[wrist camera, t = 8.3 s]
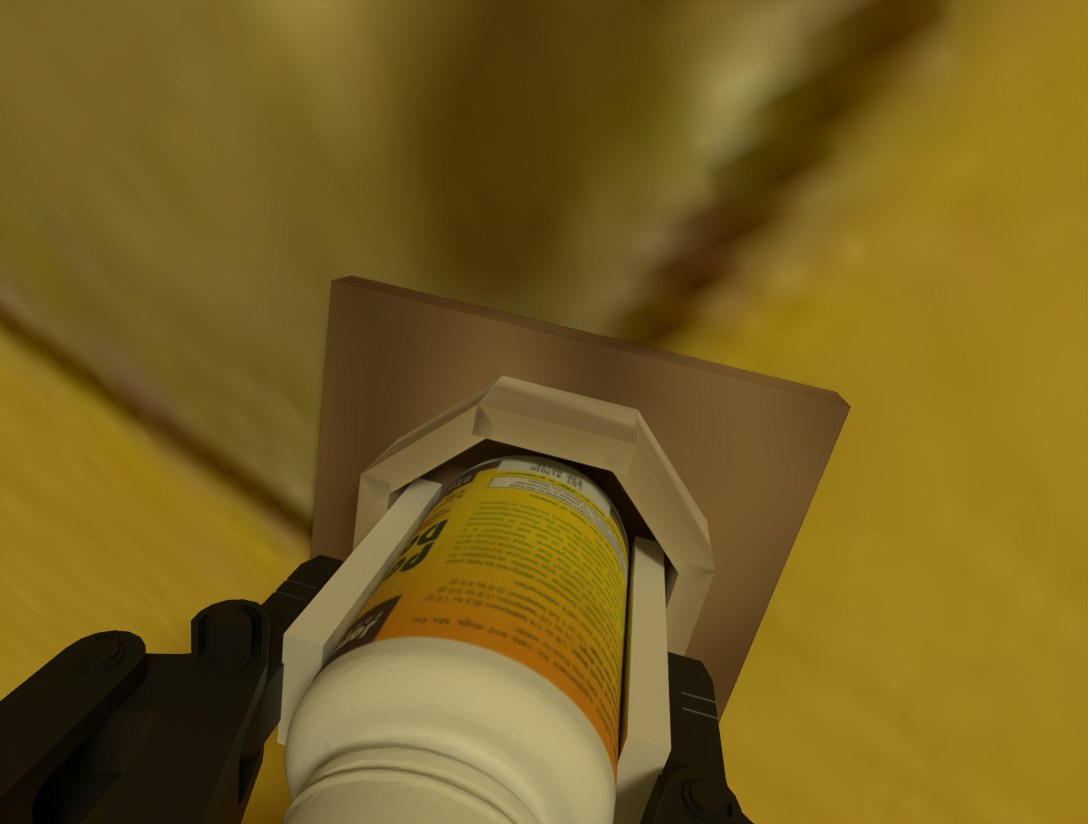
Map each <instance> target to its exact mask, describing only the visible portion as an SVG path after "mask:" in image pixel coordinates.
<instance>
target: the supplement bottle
mask: <svg viewBox="0 0 1088 824" xmlns="http://www.w3.org/2000/svg"><path fill="white" fill-rule="evenodd" d="M628 569H629V549H628V541H627V536H626V531H625V528H624V526H623V523H622V520H621V517H620V515H619V513H618V511H617V509H616V508H615V506H614V504H613V503H612V501H611V500H610V499H609V497H608V496H607V495H606V494H605V493H604V491H603V490H602V489H601V488H600V487H599V486H598V485H597V484H595V483H594V482H593V481H592V480H591V479H589V478H588V477H587V476H585V475H584V474H582V473H581V472H579V471H577V470H576V469H574V468H572V467H570V466H568V465H565V464H563V463H560V462H558V461H555V460H552V459H548V458H543V457H537V456H528V455H513V456H504V457H498V458H494V459H491V460H488V461H485V462H482V463H480V464H478V465H476V466H474V467H472V468H470V469H469V470H467V471H466V472H464V473H463V474H462V475H460V476H459V477H458V478H457V479H456V480H455V481H454V482H453V483H452V484H451V485H450V486H449V487H448V488H447V489H446V491H445V492H444V493H443V494H442V496H441V497H440V498H439V500H438V501H437V503H436V504H435V505H434V507H433V508H432V509H431V511H430V513H429V514H428V515H427V517H426V518H425V520H424V521H423V523H422V524H421V526H420V527H419V528H418V530H417V531H416V533H415V534H414V536H413V537H412V538H411V540H410V541H409V542H408V544H407V546H406V547H405V549H404V550H403V552H402V553H401V554H400V556H399V557H398V559H397V560H396V562H395V563H394V565H393V566H392V567H391V569H390V570H389V572H388V573H387V575H386V576H385V577H384V579H383V580H382V582H381V583H380V585H379V586H378V588H377V589H376V591H375V592H374V593H373V595H372V596H371V598H370V599H369V600H368V602H367V603H366V605H365V606H364V607H363V609H362V611H361V612H360V614H359V615H358V617H357V618H356V619H355V621H354V622H353V624H352V625H351V627H350V628H349V629H348V631H347V632H346V634H345V635H344V636H343V638H342V639H341V641H340V642H339V644H338V645H337V647H336V648H335V650H334V651H333V653H332V654H331V656H330V657H329V658H328V660H327V661H326V662H325V664H324V665H323V667H322V668H321V669H320V671H319V672H318V673H317V675H316V677H315V678H314V680H313V681H312V683H311V685H310V686H309V688H308V689H307V691H306V693H305V694H304V696H303V697H302V699H301V701H300V702H299V704H298V706H297V708H296V710H295V712H294V714H293V717H292V720H291V723H290V726H289V729H288V734H287V739H286V747H285V771H286V778H287V783H288V787H289V791H290V794H291V797H292V800H293V802H292V804H291V805H290V807H289V808H288V810H287V811H286V813H285V815H284V817H283V820H282V823H281V824H613V818H614V809H615V800H616V785H617V766H618V747H619V727H620V708H621V689H622V671H623V654H624V636H625V621H626V606H627V586H628Z"/></svg>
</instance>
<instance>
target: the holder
mask: <svg viewBox="0 0 1088 824" xmlns="http://www.w3.org/2000/svg"><path fill="white" fill-rule="evenodd" d="M850 407H851V406H850V405H849V404H848V403H847V402H846V401H845V400H844V399H843V398H842V397H841V396H840V395H839V394H838V393H837V392H833V391H828V390H824V389H820V388H816V387H812V386H808V385H804V384H799V383H795V382H791V381H787V380H783V379H779V378H774V377H770V376H766V375H762V374H758V373H754V372H750V371H745V370H741V369H737V368H733V367H729V366H725V365H721V364H716V363H712V362H708V361H704V360H700V359H696V358H692V357H687V356H683V355H679V354H675V353H671V352H667V351H663V350H658V349H654V348H650V347H646V346H642V345H638V344H634V343H629V342H625V341H621V340H617V339H613V338H609V337H605V336H600V335H596V334H592V333H588V332H584V331H580V330H575V329H571V328H567V327H563V326H559V325H555V324H551V323H546V322H542V321H538V320H534V319H530V318H526V317H522V316H517V315H513V314H509V313H505V312H501V311H497V310H493V309H488V308H484V307H480V306H476V305H472V304H468V303H464V302H459V301H455V300H451V299H447V298H443V297H439V296H435V295H430V294H426V293H422V292H418V291H414V290H410V289H405V288H401V287H397V286H393V285H389V284H385V283H381V282H376V281H372V280H368V279H364V278H360V277H356V276H348V277H344V278H340V279H336V280H332V282H331V295H330V308H329V321H328V334H327V347H326V360H325V373H324V386H323V400H322V413H321V426H320V439H319V452H318V465H317V478H316V491H315V504H314V518H313V531H312V544H311V557H310V560H311V559H313V558H315V557H317V556H319V555H324V556H328V557H331V558H335V559H338V560H342V561H346V560H347V559H348V557H349V556H350V555H351V554H352V553H353V551H354V550H355V549H356V548H357V547H358V546H359V544H360V543H361V542H362V541H363V540H364V538H365V537H366V536H367V535H368V534H369V533H370V531H371V530H372V529H373V528H374V527H375V526H376V524H377V523H378V522H379V521H380V520H381V518H382V517H383V516H384V515H385V514H386V513H387V511H388V510H389V509H390V508H391V507H392V505H393V504H394V503H395V502H396V501H397V500H398V498H399V497H400V496H401V495H402V494H403V492H404V491H405V490H406V489H407V488H408V487H409V485H410V484H411V483H412V482H413V481H414V479H416V478H421V479H424V480H428V481H432V482H436V483H439V484H442V487H441V493H440V497H441V496H442V494H443V493H444V492H445V491H446V489H447V488H448V487H449V486H450V485H451V484H452V483H453V482H454V481H455V480H456V479H457V478H458V477H459V476H460V475H462V474H463V473H464V472H466V471H467V470H469V469H470V468H472V467H474V466H476V465H478V464H480V463H482V462H485V461H488V460H491V459H494V458H498V457H504V456H513V455H528V456H537V457H543V458H548V459H552V460H555V461H558V462H560V463H563V464H565V465H568V466H570V467H572V468H574V469H576V470H577V471H579V472H581V473H582V474H584V475H585V476H587V477H588V478H589V479H591V480H592V481H593V482H594V483H595V484H597V485H598V486H599V487H600V488H601V489H602V490H603V491H604V493H605V494H606V495H607V496H608V497H609V499H610V500H611V501H612V503H613V504H614V506H615V508H616V509H617V511H618V513H619V515H620V517H621V520H622V523H623V526H624V528H625V531H626V536H627V541H628V549H629V557H630V554H631V551H632V547H633V544H634V541H635V537H636V536H637V537H640V538H644V539H648V540H652V541H655V542H659V544H660V545H661V547H662V548H663V552H664V578H665V604H666V630H667V651H668V652H671V653H675V654H678V655H682V656H685V657H689V658H692V659H696V660H699V661H702V663H703V665H704V666H705V668H706V670H707V671H708V673H709V675H710V677H711V678H712V680H713V686H714V693H715V704H716V709H717V720H718V724H719V722H720V719H721V717H722V714H723V712H724V710H725V707H726V705H727V702H728V700H729V698H730V695H731V693H732V690H733V688H734V686H735V683H736V681H737V678H738V676H739V674H740V671H741V669H742V666H743V664H744V662H745V659H746V657H747V654H748V652H749V650H750V647H751V645H752V642H753V640H754V638H755V635H756V633H757V630H758V628H759V626H760V623H761V621H762V618H763V616H764V614H765V611H766V609H767V606H768V604H769V602H770V599H771V597H772V594H773V592H774V590H775V587H776V585H777V582H778V580H779V578H780V575H781V573H782V570H783V568H784V566H785V563H786V561H787V559H788V556H789V554H790V551H791V549H792V547H793V544H794V542H795V539H796V537H797V535H798V532H799V530H800V527H801V525H802V523H803V520H804V518H805V515H806V513H807V511H808V508H809V506H810V503H811V501H812V499H813V496H814V494H815V491H816V489H817V487H818V484H819V482H820V479H821V477H822V475H823V472H824V470H825V467H826V465H827V463H828V460H829V458H830V455H831V453H832V451H833V448H834V446H835V443H836V441H837V439H838V436H839V434H840V431H841V429H842V427H843V424H844V422H845V419H846V417H847V415H848V412H849V410H850Z"/></svg>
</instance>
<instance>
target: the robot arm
mask: <svg viewBox="0 0 1088 824" xmlns="http://www.w3.org/2000/svg"><path fill="white" fill-rule="evenodd" d="M441 487H442V484H439V483H436V482H432V481H428V480H424V479H421V478H416V479H414V481H413V482H412V483H411V484H410V485H409V487H408V488H407V489H406V490H405V491H404V492H403V494H402V495H401V496H400V497H399V498H398V500H397V501H396V502H395V503H394V504H393V505H392V507H391V508H390V509H389V510H388V511H387V513H386V514H385V515H384V516H383V517H382V518H381V520H380V521H379V522H378V523H377V524H376V526H375V527H374V528H373V529H372V530H371V531H370V533H369V534H368V535H367V536H366V537H365V538H364V540H363V541H362V542H361V543H360V544H359V546H358V547H357V548H356V549H355V550H354V551H353V553H352V554H351V555H350V556H349V557H348V559H347V560H346V561H342V560H338V559H335V558H331V557H328V556H324V555H319V556H317V557H315V558H313V559H311V560H309V561H307V562H305V563H303V564H301V565H300V566H299V567H298V568H297V569H296V570H295V571H294V572H293V573H292V574H291V575H290V576H289V577H288V578H287V581H284V582H283V583H282V584H281V586H280V587H279V588H278V589H277V590H276V592H275V593H273V594H272V595H271V596H270V597H269V598H268V599H267V600H266V601H265V602H264V603H263V604H262V605H260V604H258V603H257V602H253V601H248V600H244V599H239V600H226V601H222V602H219V603H215V604H212V605H210V606H209V607H207V608H205V609H203V610H201V611H200V612H199V613H198V614H197V615H196V616H195V617H194V618H193V619H192V620H191V653H189V654H147V653H146V647H145V644H144V642H143V641H142V639H141V637H139V636H137V635H135V634H133V633H131V632H126V631H117V630H114V631H106V632H99V633H96V634H93V635H90V636H87V637H84V638H81V639H80V640H78V641H76V642H75V643H73V644H71V645H70V646H68V647H67V648H65V649H64V650H63V651H62V652H60V653H59V654H58V655H57V656H55V657H54V658H53V659H52V660H50V661H49V662H48V663H47V664H46V665H44V666H43V667H42V668H41V669H39V670H38V671H37V672H36V673H34V674H33V675H32V676H31V677H29V678H28V679H27V680H26V681H25V682H23V683H22V684H21V685H20V686H18V687H17V688H16V689H15V690H13V691H12V692H11V693H10V694H8V695H7V696H6V697H5V698H4V699H2V700H1V701H0V824H241V821H242V818H243V815H244V812H245V810H246V807H247V804H248V801H249V798H250V795H251V792H252V790H253V787H254V784H255V781H256V778H257V775H258V772H259V770H260V767H261V764H262V761H263V753H264V743H265V741H266V740H267V738H268V737H269V736H270V734H271V733H272V731H273V730H274V729H275V727H276V726H277V724H278V737H277V743H279V744H282V745H285V746H286V739H287V734H288V729H289V726H290V723H291V720H292V717H293V714H294V712H295V710H296V708H297V706H298V704H299V702H300V701H301V699H302V697H303V696H304V694H305V693H306V691H307V689H308V688H309V686H310V685H311V683H312V681H313V680H314V678H315V677H316V675H317V673H318V672H319V671H320V669H321V668H322V667H323V665H324V664H325V662H326V661H327V660H328V658H329V657H330V656H331V654H332V653H333V651H334V650H335V648H336V647H337V645H338V644H339V642H340V641H341V639H342V638H343V636H344V635H345V634H346V632H347V631H348V629H349V628H350V627H351V625H352V624H353V622H354V621H355V619H356V618H357V617H358V615H359V614H360V612H361V611H362V609H363V607H364V606H365V605H366V603H367V602H368V600H369V599H370V598H371V596H372V595H373V593H374V592H375V591H376V589H377V588H378V586H379V585H380V583H381V582H382V580H383V579H384V577H385V576H386V575H387V573H388V572H389V570H390V569H391V567H392V566H393V565H394V563H395V562H396V560H397V559H398V557H399V556H400V554H401V553H402V552H403V550H404V549H405V547H406V546H407V544H408V542H409V541H410V540H411V538H412V537H413V536H414V534H415V533H416V531H417V530H418V528H419V527H420V526H421V524H422V523H423V521H424V520H425V518H426V517H427V515H428V514H429V513H430V511H431V509H432V508H433V507H434V505H435V504H436V503H437V501H438V500H439V498H440V493H441ZM613 824H754V823H752V822H751V821H750V820H749V819H748V818H747V817H746V816H745V815H744V814H743V813H742V811H741V808H740V805H739V803H738V801H737V799H736V796H735V795H734V794H733V792H732V791H731V790H730V789H729V788H728V786H727V782H726V777H725V770H724V762H723V754H722V747H721V739H720V732H719V724H718V720H717V709H716V704H715V693H714V686H713V680H712V678H711V677H710V675H709V673H708V671H707V670H706V668H705V666H704V665H703V663H702V661H699V660H696V659H692V658H689V657H685V656H682V655H678V654H675V653H671V652H668V651H667V630H666V604H665V578H664V552H663V548H662V547H661V545H660V544H659V542H655V541H652V540H648V539H644V538H640V537H637V536H636V537H635V541H634V544H633V547H632V551H631V554H630V557H629V569H628V586H627V606H626V621H625V636H624V654H623V671H622V689H621V708H620V727H619V747H618V766H617V785H616V800H615V809H614V818H613Z"/></svg>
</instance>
